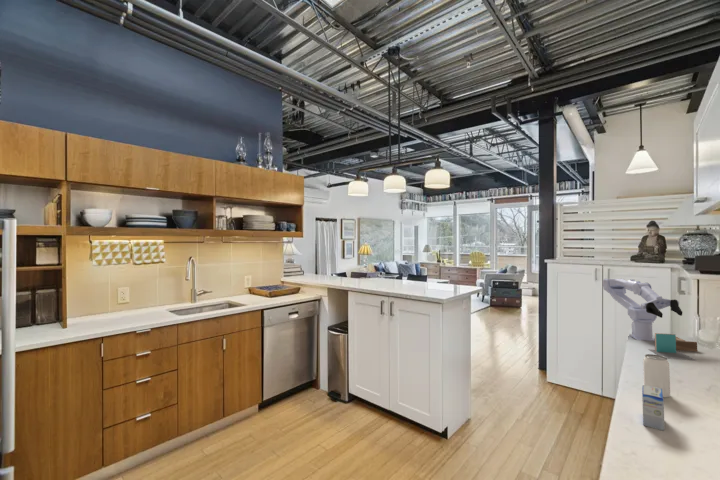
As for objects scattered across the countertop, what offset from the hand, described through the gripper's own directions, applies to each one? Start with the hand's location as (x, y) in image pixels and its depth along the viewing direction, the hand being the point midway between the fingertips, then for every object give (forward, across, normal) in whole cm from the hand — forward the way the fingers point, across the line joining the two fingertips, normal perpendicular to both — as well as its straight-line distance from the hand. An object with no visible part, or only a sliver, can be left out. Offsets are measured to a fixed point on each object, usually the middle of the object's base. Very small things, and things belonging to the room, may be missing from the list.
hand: (671, 314), depth 155 cm
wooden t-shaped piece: (0, +3, +19) cm, 19 cm away
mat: (+13, -7, +11) cm, 19 cm away
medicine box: (+70, -47, -21) cm, 87 cm away
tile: (+9, -7, +12) cm, 17 cm away
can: (+52, -35, -11) cm, 64 cm away
